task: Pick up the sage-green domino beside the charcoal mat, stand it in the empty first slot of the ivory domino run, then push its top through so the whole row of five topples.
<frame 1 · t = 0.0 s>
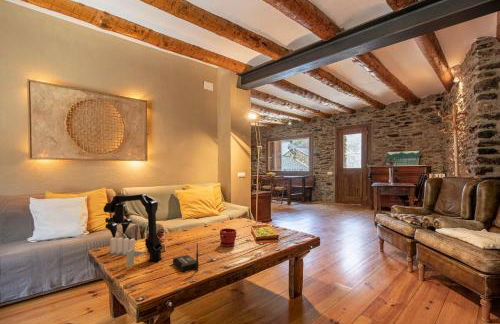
hand: (118, 235, 174), 15 cm above the table, tool pointing down, fingers open, 9 cm apart
end domino: (113, 251, 182), point 1 cm above the table, touching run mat
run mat: (125, 253, 180), on the table
plant pot: (228, 245, 200), on the table
black wifi router: (186, 267, 158), on the table
domino 4: (119, 252, 181), point 1 cm above the table, touching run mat
sage domino: (130, 266, 158), on the table
domino 2: (131, 253, 179), point 1 cm above the table, touching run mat
domino 3: (125, 252, 180), point 1 cm above the table, touching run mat
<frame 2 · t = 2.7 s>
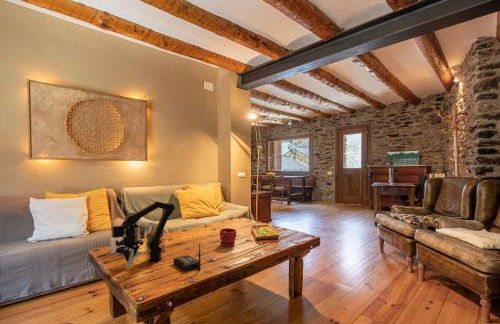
hand: (130, 259, 158), 4 cm above the table, tool pointing down, fingers closed on sage domino, 5 cm apart
sage domino: (130, 266, 158), on the table, touching gripper
when the fingers open (6 cm above the table, at t = 7.4 s): sage domino stays where it is, resting on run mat.
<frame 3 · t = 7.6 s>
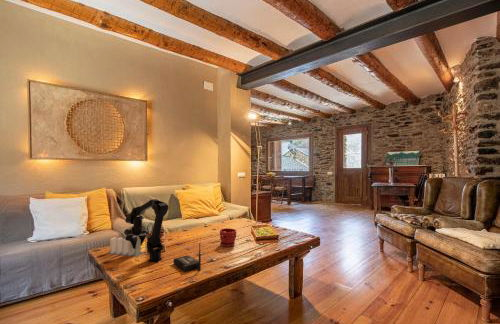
hand: (137, 247, 177), 6 cm above the table, tool pointing down, fingers open, 7 cm apart
sage domino: (137, 254, 178), point 1 cm above the table, touching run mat
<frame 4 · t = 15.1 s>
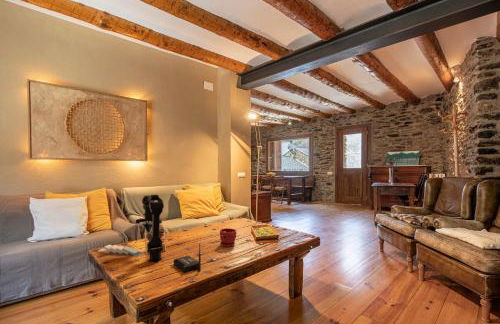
hand: (148, 232, 187), 13 cm above the table, tool pointing down, fingers closed
end domino: (112, 250, 182), point 1 cm above the table, tilted 94°, touching domino 4, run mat
domino 4: (118, 251, 181), point 1 cm above the table, tilted 73°, touching domino 3, end domino, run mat
sage domino: (136, 253, 178), point 1 cm above the table, tilted 74°, touching domino 2, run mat
domino 2: (130, 252, 179), point 1 cm above the table, tilted 74°, touching domino 3, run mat, sage domino
domino 3: (123, 251, 180), point 1 cm above the table, tilted 73°, touching domino 2, domino 4, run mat
at the end: end domino tilted 94°; sage domino tilted 74°; the gripper is holding nothing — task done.
